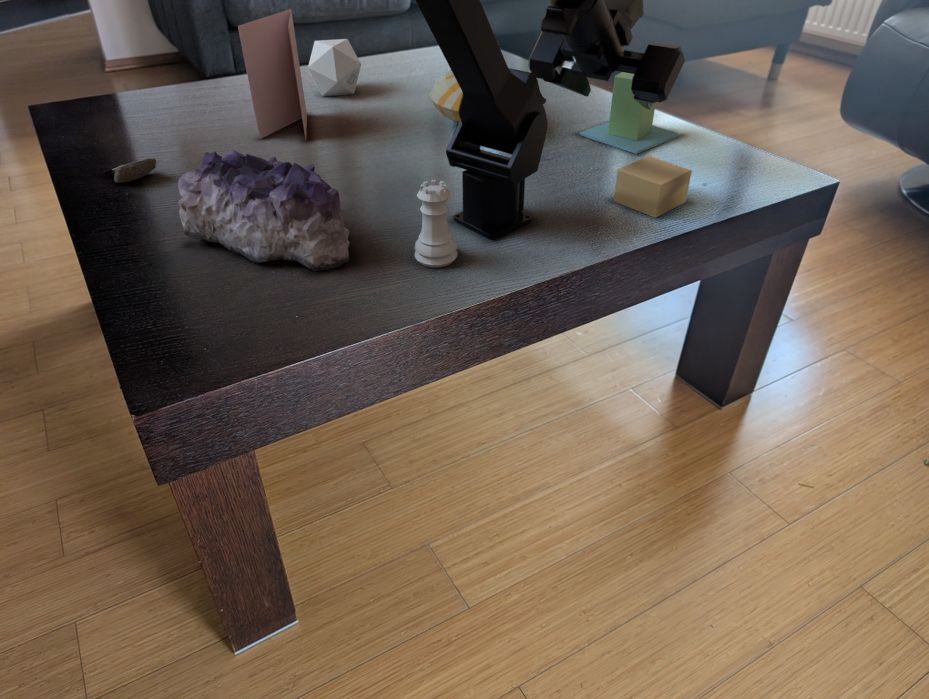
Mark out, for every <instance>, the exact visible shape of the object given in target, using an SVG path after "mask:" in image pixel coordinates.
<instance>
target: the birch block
mask: <svg viewBox="0 0 929 699" xmlns="http://www.w3.org/2000/svg"><path fill="white" fill-rule="evenodd" d="M692 172H693V171H692V169H689V168H687V167H683V166H681V165H678V164H674V163H671V162H669V161H665V160H663V159H660V158H657V157H653V156H651V155H646V156H644V157H643V158H640V159H637V160H635V161H634V162H631V163H629V164H627V165H625V166H622V167H619V168H617V171H616V178H615V186H614V193H613V200H612V201H613V202H614V203H617V204H620V205H622V206H624V207H626V208H629V209H632V210H634V211H636V212H640V213H642V214H645V215H647V216H650V217H652V218H655V219H656V218H658V217H660V216H662V215H664V214H666V213H668V212H670V211H672V210H673V209H675V208H677V207H679V206H681V205H683V204H686V202H687V197H688V191H689V186H690V183H691V177H692Z"/></svg>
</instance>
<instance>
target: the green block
mask: <svg viewBox="0 0 929 699" xmlns="http://www.w3.org/2000/svg"><path fill="white" fill-rule="evenodd" d="M633 76H634V74H631V73H625V72H620V73H618V74H615V75H614V79H613V80H614V81H613V87H612V96H611V103H610V112H609V119H608V120H609V121H608V122H609V127H608V134H611V135H615V136H619V137H623V138H628V139H632V140H636V141H637V140H639V139H640V138H642V137H643V136H645V135H646V134H648V133H649V132H651V130H652V125H653V124H654V123H653V122H654V117H655V111H656V104H657V102H656V103H653V106H652V108H651V110H648V109H646V108H645V107H643V106H642V105H641V104H639V103H638V102H637V101H636V100H634V99H633V98H634V96H635V95H634V94H633V93H632V90H631V86H632V79H633Z"/></svg>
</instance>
